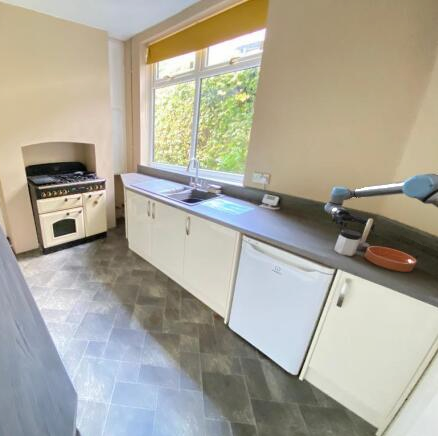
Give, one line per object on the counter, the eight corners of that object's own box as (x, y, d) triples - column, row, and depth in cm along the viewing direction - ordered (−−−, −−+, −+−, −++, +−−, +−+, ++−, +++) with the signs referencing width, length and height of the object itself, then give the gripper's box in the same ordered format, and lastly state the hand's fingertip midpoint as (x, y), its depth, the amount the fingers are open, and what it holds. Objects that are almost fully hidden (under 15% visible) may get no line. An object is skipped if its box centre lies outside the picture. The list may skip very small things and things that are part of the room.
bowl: (408, 262, 119) (412, 253, 117) (415, 277, 106) (420, 268, 104) (363, 251, 129) (366, 243, 127) (364, 264, 116) (368, 255, 115)
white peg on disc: (367, 248, 133) (378, 218, 126) (367, 252, 128) (380, 221, 122) (352, 244, 136) (363, 215, 130) (352, 248, 132) (363, 218, 125)
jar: (330, 248, 132) (337, 228, 127) (344, 248, 132) (351, 228, 127) (343, 256, 123) (351, 235, 119) (358, 256, 124) (366, 235, 119)
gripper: (360, 221, 153) (382, 234, 133) (317, 217, 158) (332, 229, 139) (364, 210, 150) (387, 222, 131) (320, 207, 156) (336, 217, 136)
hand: (359, 226), depth 135 cm, fingers open, 13 cm apart
